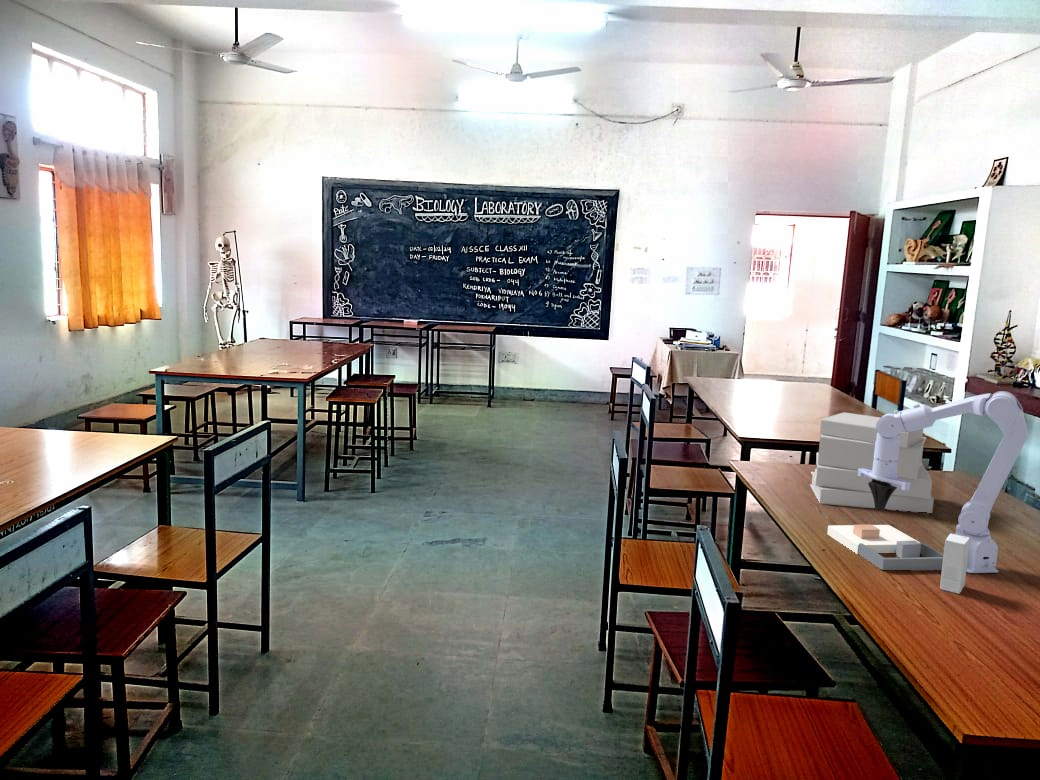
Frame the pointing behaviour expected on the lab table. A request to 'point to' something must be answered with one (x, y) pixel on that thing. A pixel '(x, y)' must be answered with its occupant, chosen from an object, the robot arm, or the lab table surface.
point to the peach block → (866, 531)
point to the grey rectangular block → (908, 549)
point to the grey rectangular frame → (905, 559)
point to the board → (881, 545)
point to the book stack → (867, 465)
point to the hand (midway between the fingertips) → (879, 509)
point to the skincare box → (954, 563)
